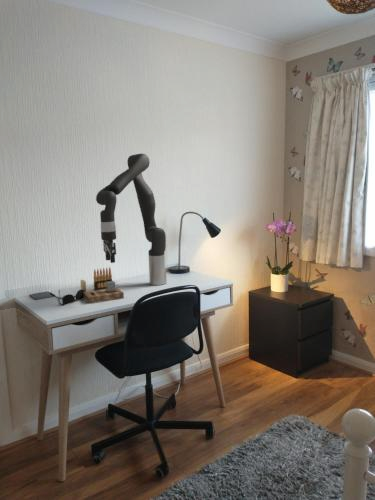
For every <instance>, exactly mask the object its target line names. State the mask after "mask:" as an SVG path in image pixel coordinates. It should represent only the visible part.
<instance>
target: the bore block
mask: <svg viewBox="0 0 375 500" xmlns="http://www.w3.org/2000/svg"><path fill="white" fill-rule="evenodd" d="M115 290H116V292H113V293H106V289H102V290H96V291H95V290H89V291H86V292H83V295H84V298H83V299H84V300H85V301H86V302H87V304H95V303H101V302H109V301H114V300H122V299H125V297H124V296H125V293H124V292H123V291H122V290H120V289H119V288H118V287H115Z"/></svg>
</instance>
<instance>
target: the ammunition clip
mask: <svg viewBox="0 0 375 500" xmlns="http://www.w3.org/2000/svg"><path fill="white" fill-rule="evenodd" d="M112 275H113V274H112V270H111V267H106V268H104V267H103V269H102V268H97V270H96V269H94V270H93V291H96V290H103V289H106V282H109V281H113V277H112Z"/></svg>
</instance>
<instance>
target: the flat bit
mask: <svg viewBox="0 0 375 500" xmlns="http://www.w3.org/2000/svg"><path fill="white" fill-rule="evenodd" d="M86 283H87V282H86V280H84V279H80V290H83V291H84V292H87V284H86Z"/></svg>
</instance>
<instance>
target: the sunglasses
mask: <svg viewBox="0 0 375 500" xmlns="http://www.w3.org/2000/svg"><path fill="white" fill-rule="evenodd" d="M83 292H84V291H83V290H81V289H79V290H78V291H77V292H76V294H74V295H75V296H74V295H73V294H69V293H68V294H66V295H63V297H60V296H57V295H55V294H53V293H52V292H49V295H51V296H52V297H54V298H56V299H58V302H59V304H60V305H61V306H63V307H64V306H66V305H68V304H69V305H70V304H74V303H75V302H77V301H80V300H83V299H84V295H83ZM60 293H61V291H60V290H58V294H60ZM60 299H61V301H62V303H61V302H60Z"/></svg>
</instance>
